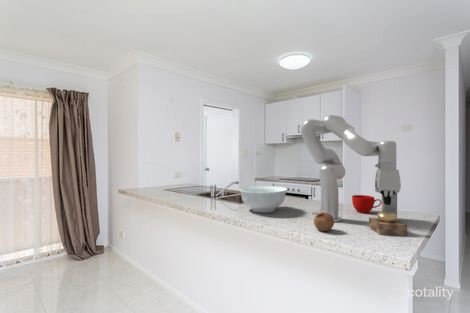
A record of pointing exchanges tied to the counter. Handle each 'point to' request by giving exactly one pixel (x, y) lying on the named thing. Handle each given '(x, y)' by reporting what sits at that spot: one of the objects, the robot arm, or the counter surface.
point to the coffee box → (393, 206)
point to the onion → (323, 221)
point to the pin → (386, 217)
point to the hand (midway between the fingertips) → (387, 204)
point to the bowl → (263, 197)
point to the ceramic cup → (364, 203)
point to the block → (388, 227)
